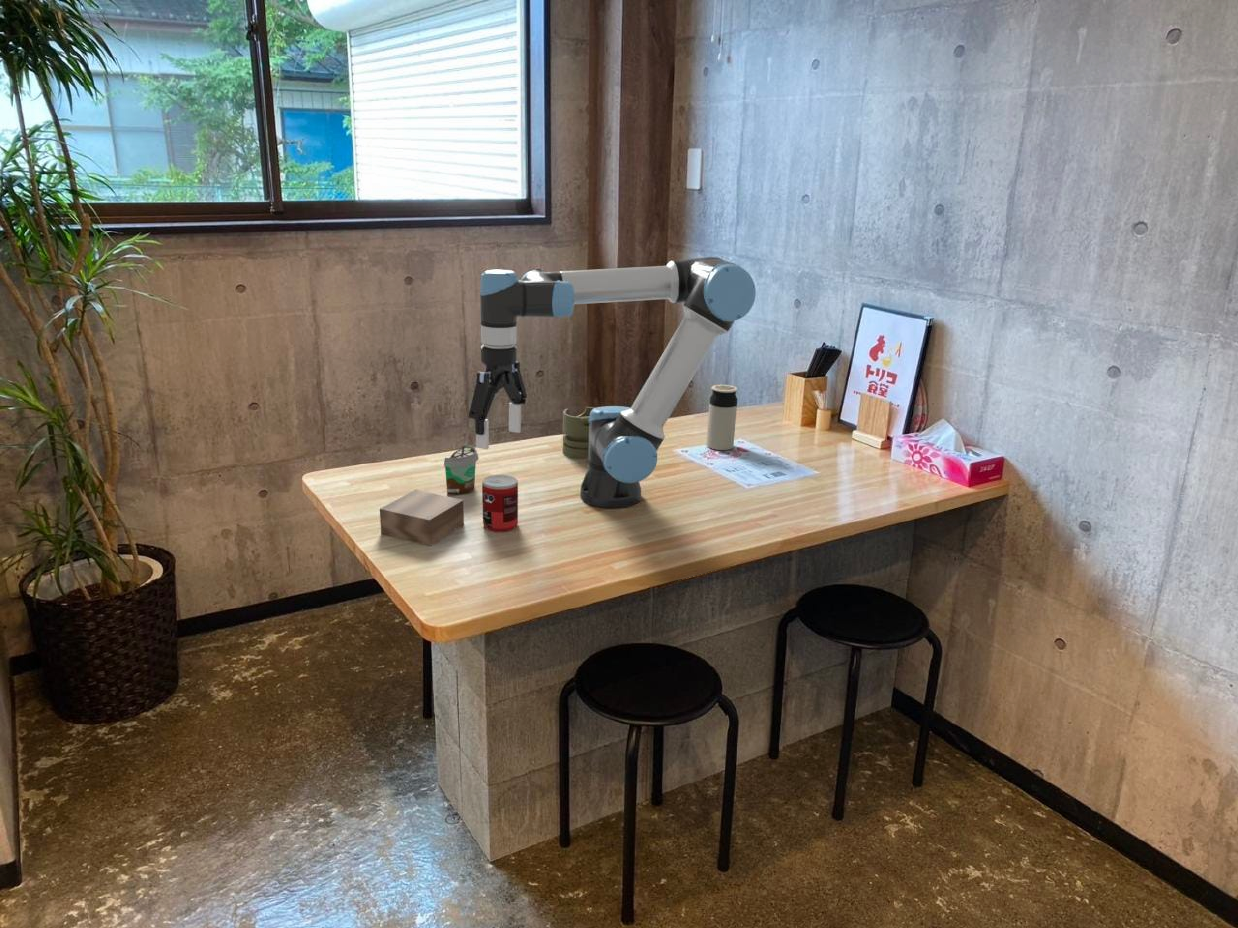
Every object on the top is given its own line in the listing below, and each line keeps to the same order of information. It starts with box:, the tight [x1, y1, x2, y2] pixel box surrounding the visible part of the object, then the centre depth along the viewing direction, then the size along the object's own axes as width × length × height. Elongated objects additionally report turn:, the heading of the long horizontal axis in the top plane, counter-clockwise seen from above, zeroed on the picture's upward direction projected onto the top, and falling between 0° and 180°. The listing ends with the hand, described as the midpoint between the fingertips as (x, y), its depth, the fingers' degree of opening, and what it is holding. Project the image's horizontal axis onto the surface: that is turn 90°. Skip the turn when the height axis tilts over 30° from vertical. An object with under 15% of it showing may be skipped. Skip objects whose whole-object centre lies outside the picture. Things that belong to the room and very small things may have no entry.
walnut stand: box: [379, 489, 465, 547], centre depth 197 cm, size 13×13×6 cm
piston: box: [562, 406, 595, 460], centre depth 249 cm, size 11×12×11 cm
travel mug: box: [706, 384, 738, 451], centre depth 257 cm, size 8×8×18 cm
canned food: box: [481, 474, 519, 533], centre depth 199 cm, size 8×8×11 cm
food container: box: [443, 443, 479, 496], centre depth 219 cm, size 12×6×10 cm, turn 168°
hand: (499, 439), depth 194 cm, fingers open, 13 cm apart
